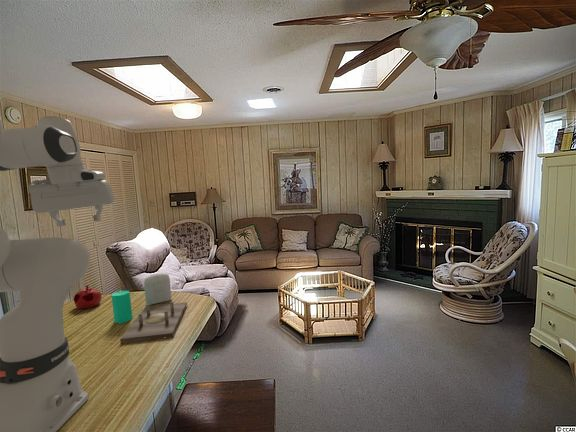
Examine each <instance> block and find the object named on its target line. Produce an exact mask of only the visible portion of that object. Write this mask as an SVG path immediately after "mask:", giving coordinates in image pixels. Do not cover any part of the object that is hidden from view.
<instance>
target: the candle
mask: <svg viewBox="0 0 576 432" xmlns="http://www.w3.org/2000/svg"><path fill="white" fill-rule="evenodd" d="M111 303H112V312H113V320H114V323H115V324H122V323H123V324H124V323H127V322H129V321H131V320H132V319H133V309H132V299H131V291H129V290H121V289H119V291H116V292H114V293H112V294H111Z"/></svg>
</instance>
